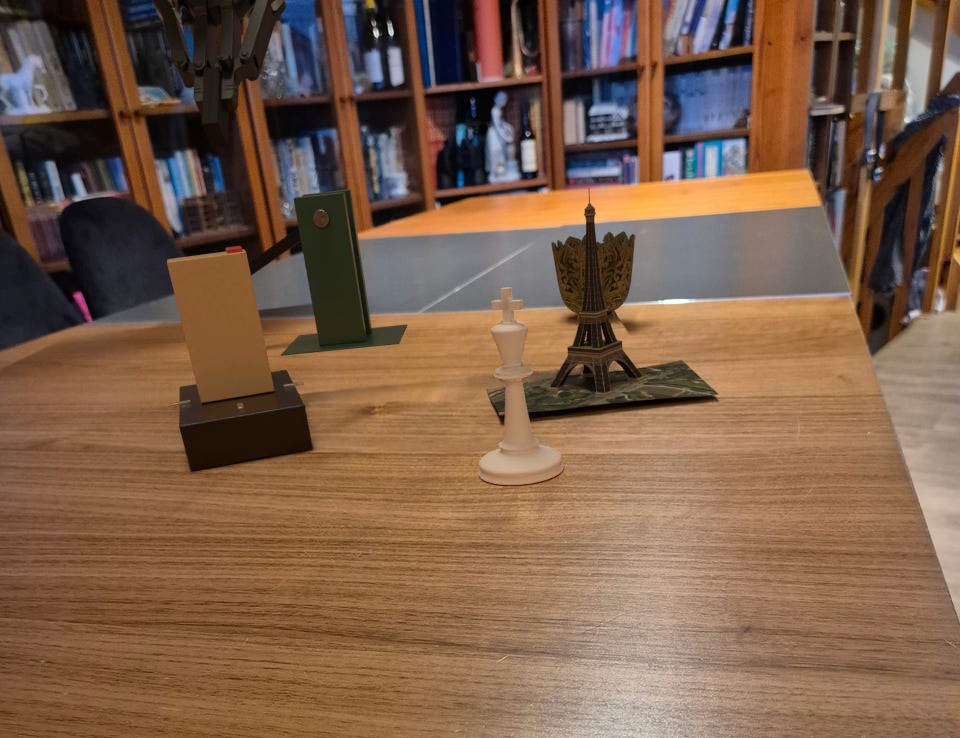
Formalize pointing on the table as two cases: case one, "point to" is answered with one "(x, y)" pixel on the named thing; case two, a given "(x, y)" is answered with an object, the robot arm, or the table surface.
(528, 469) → the chess piece
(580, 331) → the eiffel tower figurine
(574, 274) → the cup
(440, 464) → the table surface
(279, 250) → the lever
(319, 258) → the bracket
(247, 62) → the robot arm
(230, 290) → the tan standing plaque
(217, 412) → the base
